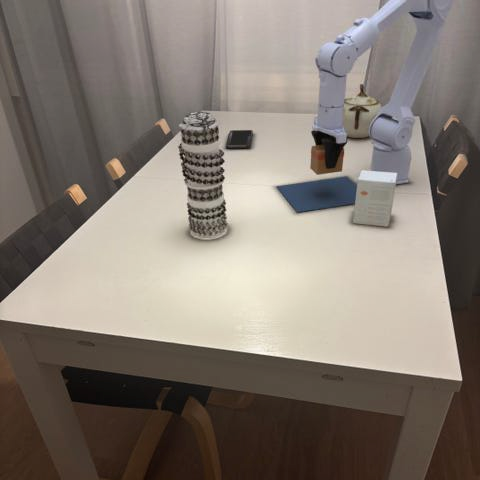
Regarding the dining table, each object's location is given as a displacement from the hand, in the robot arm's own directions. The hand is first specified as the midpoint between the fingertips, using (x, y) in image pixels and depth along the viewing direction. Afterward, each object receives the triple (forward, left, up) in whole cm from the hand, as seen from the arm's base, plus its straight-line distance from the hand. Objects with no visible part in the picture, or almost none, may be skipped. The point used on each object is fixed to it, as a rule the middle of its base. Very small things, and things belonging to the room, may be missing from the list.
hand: (326, 164), depth 114 cm
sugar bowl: (-28, -41, -8) cm, 51 cm away
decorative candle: (+32, +9, -8) cm, 34 cm away
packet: (0, 0, -1) cm, 1 cm away
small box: (-5, +16, -8) cm, 19 cm away
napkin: (0, -1, -8) cm, 8 cm away
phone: (+10, -48, -8) cm, 50 cm away
